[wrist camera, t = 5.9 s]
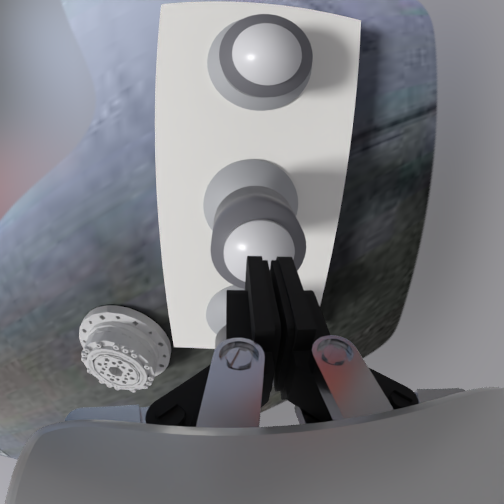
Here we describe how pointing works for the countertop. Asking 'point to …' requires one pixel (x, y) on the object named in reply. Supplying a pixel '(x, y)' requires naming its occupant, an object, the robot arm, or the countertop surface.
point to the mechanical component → (123, 347)
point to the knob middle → (254, 232)
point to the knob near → (265, 56)
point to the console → (244, 149)
